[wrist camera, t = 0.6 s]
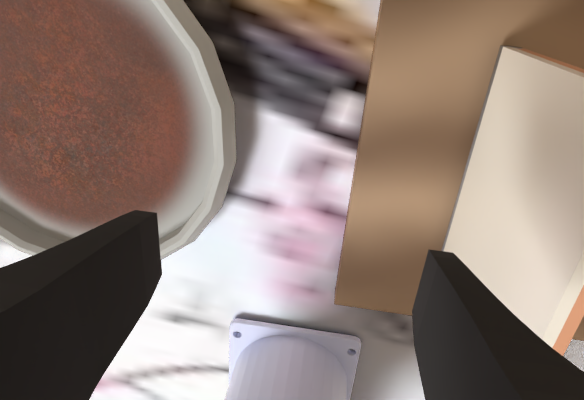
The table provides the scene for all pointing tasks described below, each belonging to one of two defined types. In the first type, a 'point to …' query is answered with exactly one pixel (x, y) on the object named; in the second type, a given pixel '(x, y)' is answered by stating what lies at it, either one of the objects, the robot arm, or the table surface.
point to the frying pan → (110, 120)
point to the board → (430, 130)
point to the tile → (527, 194)
